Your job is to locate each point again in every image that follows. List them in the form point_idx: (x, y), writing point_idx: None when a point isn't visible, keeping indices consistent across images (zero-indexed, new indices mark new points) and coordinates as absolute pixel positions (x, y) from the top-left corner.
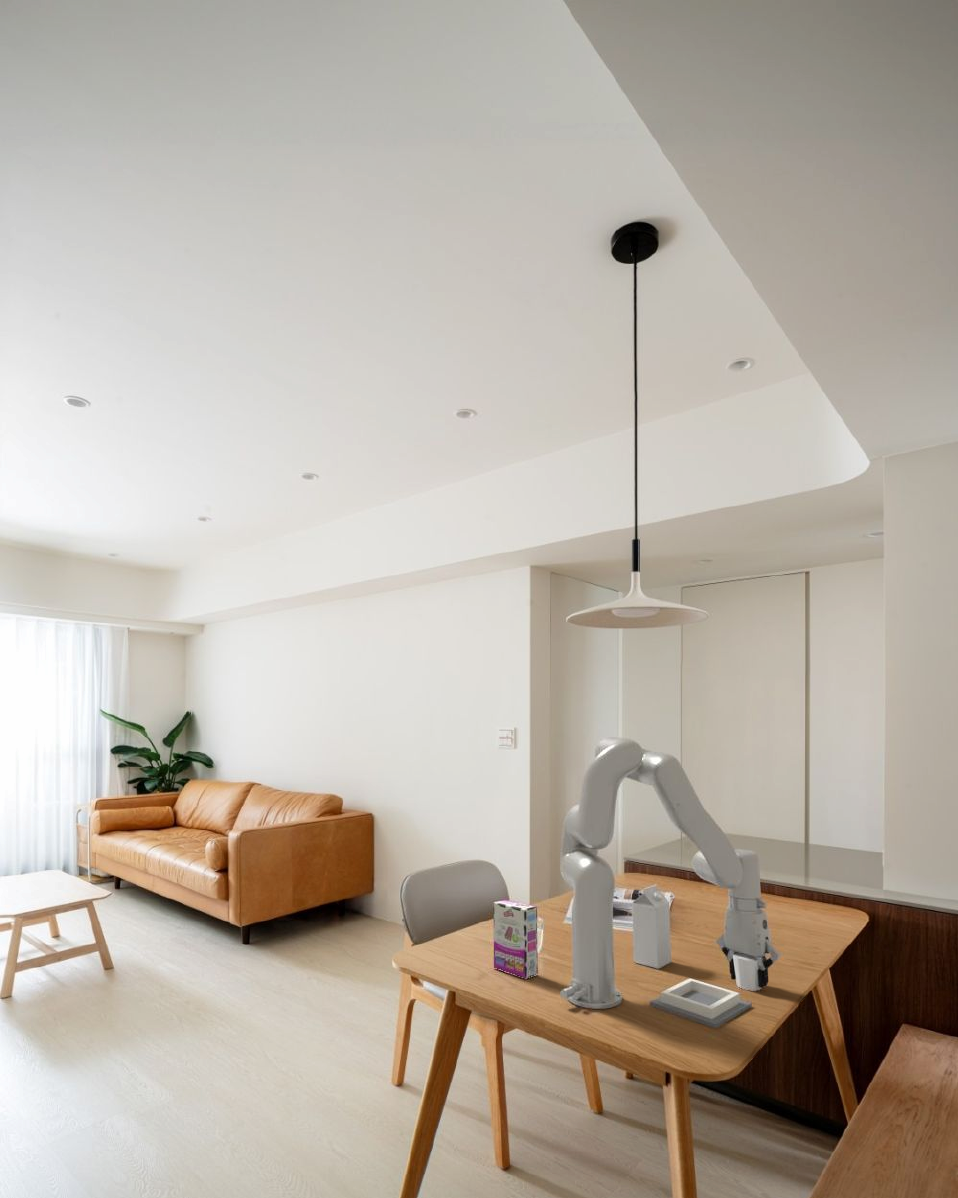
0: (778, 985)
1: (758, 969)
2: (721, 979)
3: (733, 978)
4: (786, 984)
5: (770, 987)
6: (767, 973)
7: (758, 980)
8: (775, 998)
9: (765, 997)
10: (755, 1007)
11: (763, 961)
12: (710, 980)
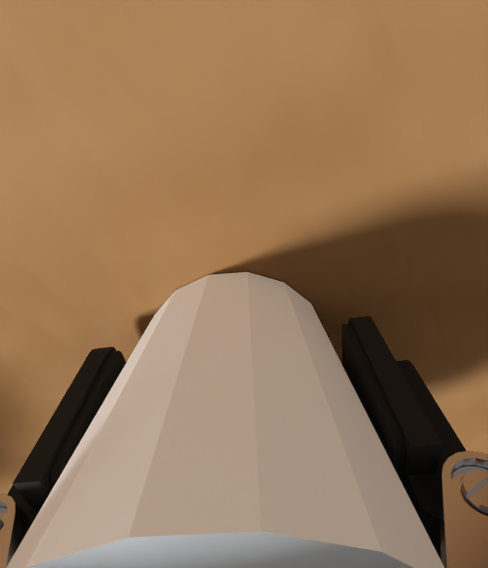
0: (388, 132)
1: None
2: (41, 385)
3: None
4: (447, 15)
5: (354, 241)
6: (445, 429)
7: None
8: (465, 378)
9: None
10: None
11: (460, 561)
12: (32, 438)
